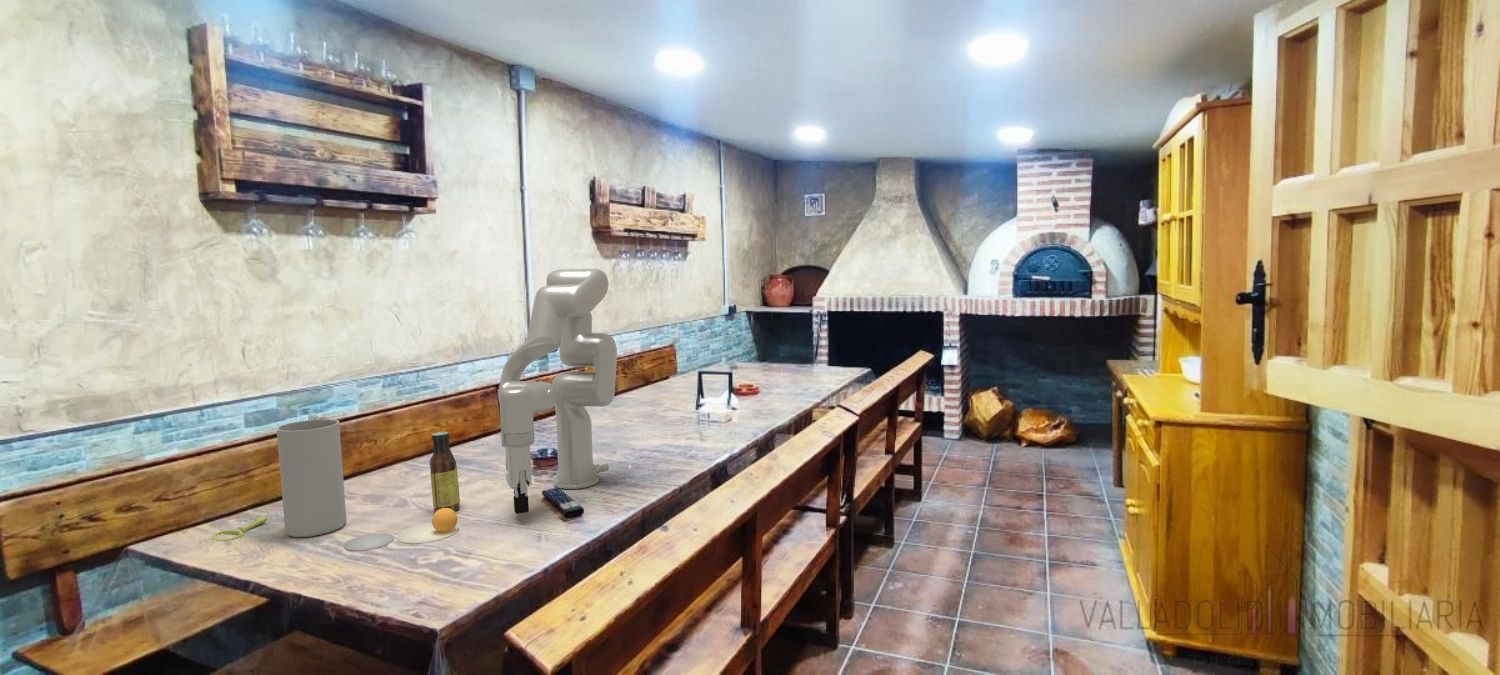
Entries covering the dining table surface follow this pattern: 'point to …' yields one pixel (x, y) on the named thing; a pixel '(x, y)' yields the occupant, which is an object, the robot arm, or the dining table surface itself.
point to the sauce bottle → (444, 474)
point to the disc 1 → (368, 542)
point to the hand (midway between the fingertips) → (521, 511)
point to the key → (239, 530)
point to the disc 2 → (423, 534)
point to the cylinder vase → (311, 477)
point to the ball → (444, 520)
